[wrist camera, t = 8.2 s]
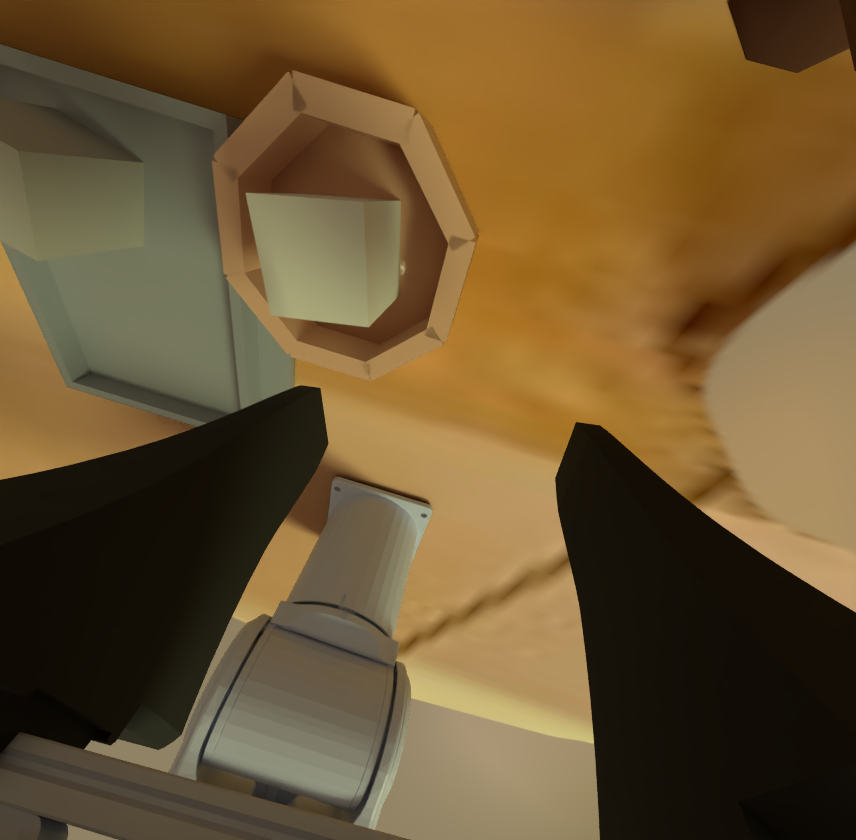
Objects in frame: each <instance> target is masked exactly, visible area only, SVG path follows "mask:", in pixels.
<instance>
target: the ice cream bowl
mask: <svg viewBox="0 0 856 840" xmlns="http://www.w3.org/2000/svg"><path fill="white" fill-rule="evenodd" d="M729 6H730V9H731V12H732V15H733V18H734V21H735V24H736V28H737V31H738V34H739V37H740V40H741V43H742V46H743V49H744V52H745V55H746V58H747V60H750V61H754V62H757V63H761V64H765V65H769V66H773V67H776V68H780V69H784V70H788V71H792V72H795V73H798V72H800V71H802V70H804V69H807V68H809V67H811V66H813V65H815V64H817V63H819V62H821V61H824V60H826V59H828V58H830V57H832V56H834V55H836V54H838V53H841V52H843V51H845V50H847V49H849V48H850V51H851V56H852V60H853V65H854V69H855V71H856V0H730V1H729Z"/></svg>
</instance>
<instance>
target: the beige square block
mask: <svg viewBox="0 0 856 840" xmlns="http://www.w3.org/2000/svg"><path fill="white" fill-rule="evenodd" d="M0 241H1V242H3V243H5V244H7V245H9V246H10V247H12V248H14V249H16V250H18V251H20V252H22V253H23V254H25V255H27V256H29V257H31V258H33V259H35V260H36V261H42V260H49V259H56V258H63V257H70V256H77V255H84V254H91V253H98V252H105V251H112V250H119V249H127V248H134V247H141V246H143V241H144V162H142V161H140V160H139V159H137V158H136V157H134V156H132V155H131V154H129V153H127V152H126V151H124V150H122V149H121V148H119V147H118V146H116V145H114V144H113V143H111V142H109V141H108V140H106V139H104V138H103V137H101V136H100V135H98V134H96V133H95V132H93V131H91V130H90V129H88V128H86V127H85V126H83V125H82V124H80V123H78V122H77V121H75V120H73V119H72V118H70V117H68V116H67V115H65V114H64V113H62V112H60V111H59V110H57V109H55V108H50V107H45V106H40V105H35V104H30V103H25V102H20V101H15V100H10V99H5V98H0Z"/></svg>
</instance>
